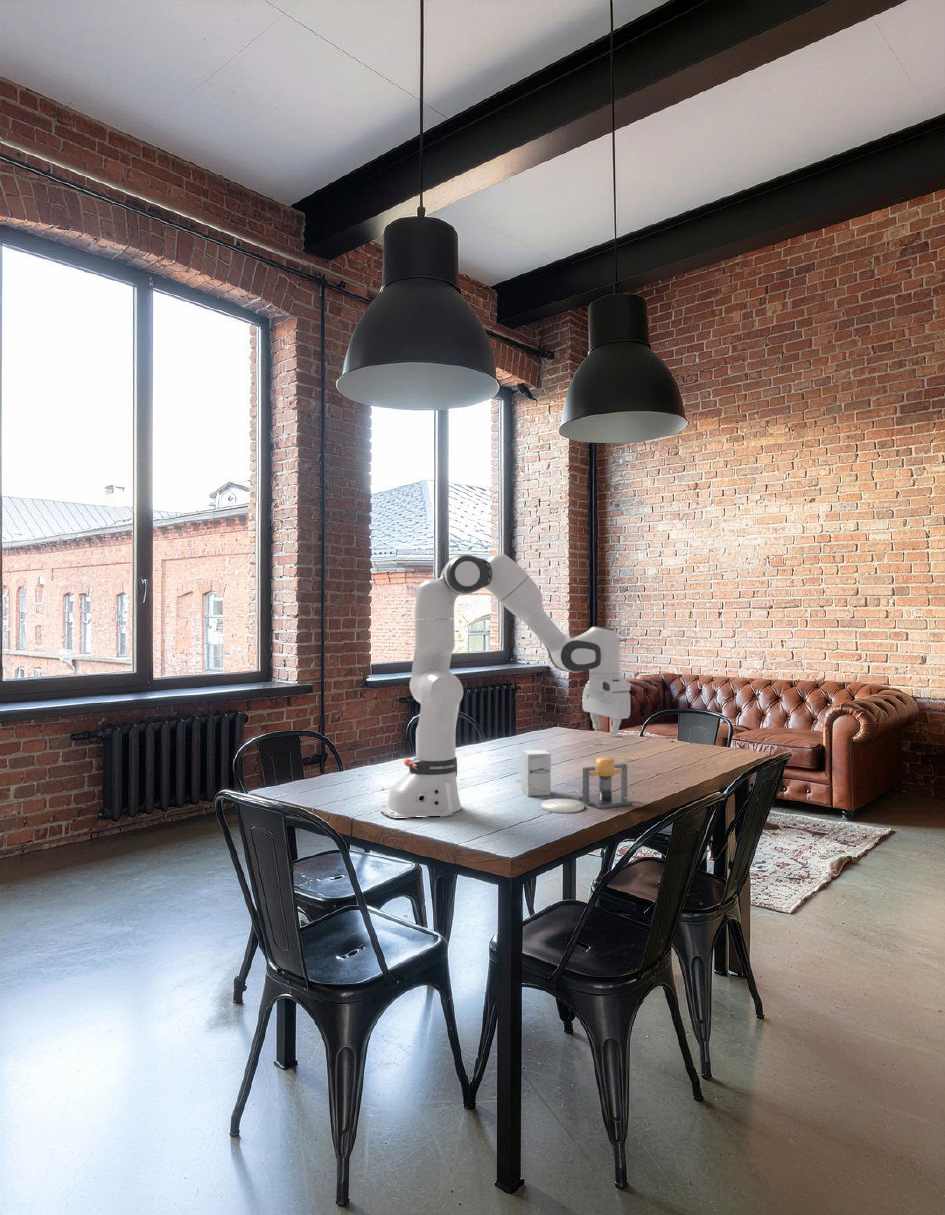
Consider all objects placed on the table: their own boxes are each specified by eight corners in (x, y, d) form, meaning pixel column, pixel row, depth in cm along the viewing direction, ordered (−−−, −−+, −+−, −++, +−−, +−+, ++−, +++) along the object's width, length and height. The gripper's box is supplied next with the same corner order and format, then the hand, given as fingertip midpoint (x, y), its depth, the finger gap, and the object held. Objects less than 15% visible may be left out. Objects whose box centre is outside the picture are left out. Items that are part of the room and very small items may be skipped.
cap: (594, 777, 220) (594, 762, 220) (584, 774, 225) (584, 759, 225) (625, 774, 224) (625, 759, 224) (615, 771, 229) (615, 756, 229)
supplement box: (527, 797, 232) (527, 754, 232) (521, 791, 239) (520, 749, 239) (551, 795, 233) (551, 753, 233) (544, 790, 240) (544, 749, 241)
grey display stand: (594, 809, 217) (594, 771, 217) (574, 800, 227) (574, 764, 227) (637, 804, 222) (636, 767, 222) (615, 796, 232) (615, 760, 232)
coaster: (554, 814, 211) (554, 811, 211) (533, 804, 222) (533, 801, 222) (592, 810, 216) (592, 806, 216) (570, 800, 227) (570, 797, 227)
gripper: (576, 680, 233) (577, 726, 233) (614, 686, 214) (615, 736, 214) (595, 679, 235) (595, 725, 235) (634, 685, 217) (635, 735, 217)
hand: (605, 731), depth 225 cm, fingers open, 8 cm apart
